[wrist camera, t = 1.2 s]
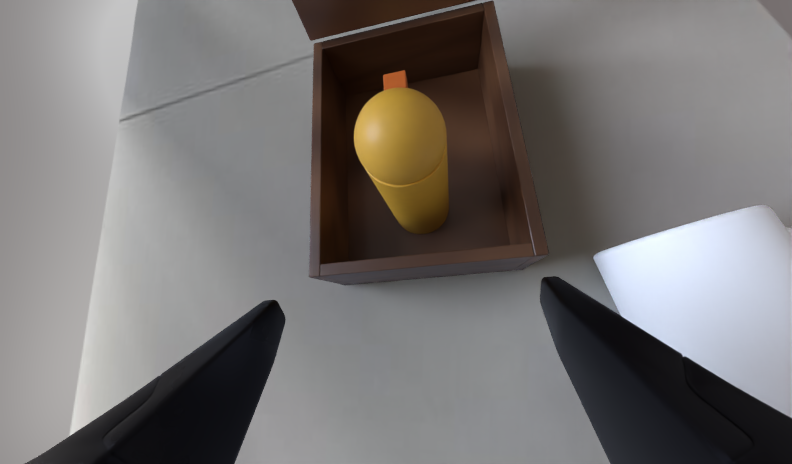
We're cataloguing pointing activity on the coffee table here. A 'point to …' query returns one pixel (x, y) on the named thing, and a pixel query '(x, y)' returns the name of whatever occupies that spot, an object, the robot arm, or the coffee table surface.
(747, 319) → the mug
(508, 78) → the chest
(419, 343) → the coffee table surface
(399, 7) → the chest lid
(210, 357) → the robot arm
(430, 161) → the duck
